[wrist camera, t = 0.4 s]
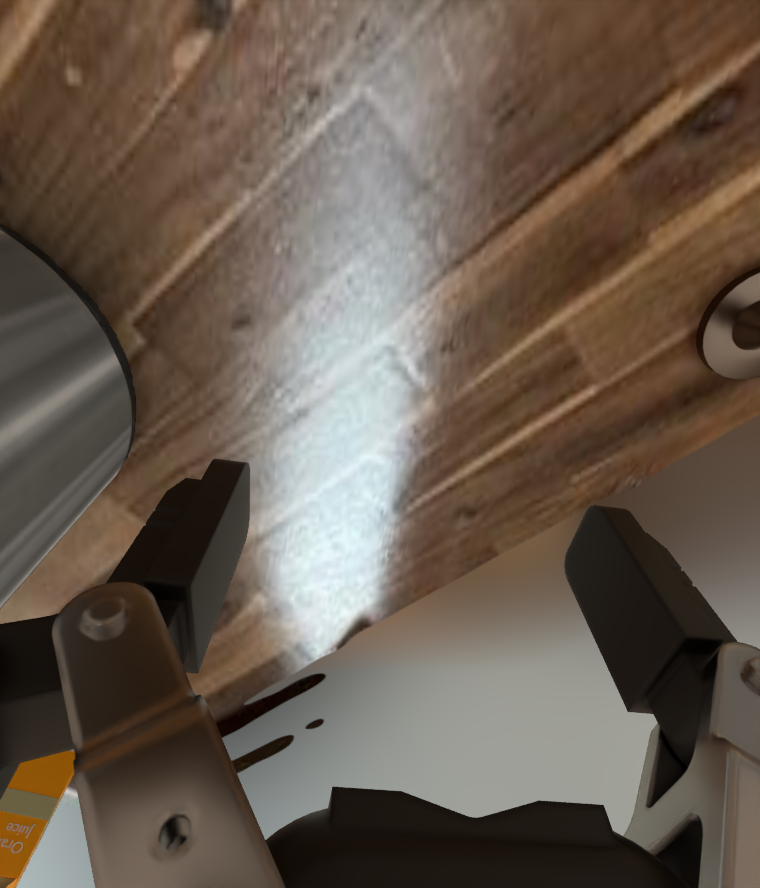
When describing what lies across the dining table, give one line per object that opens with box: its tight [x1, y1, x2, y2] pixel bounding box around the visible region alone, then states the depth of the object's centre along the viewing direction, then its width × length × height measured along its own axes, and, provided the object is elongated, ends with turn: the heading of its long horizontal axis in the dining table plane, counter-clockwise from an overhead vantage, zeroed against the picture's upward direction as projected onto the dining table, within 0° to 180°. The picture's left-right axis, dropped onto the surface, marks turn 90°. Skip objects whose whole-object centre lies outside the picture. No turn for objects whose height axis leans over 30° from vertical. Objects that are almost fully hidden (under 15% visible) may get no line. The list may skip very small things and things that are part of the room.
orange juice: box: [0, 751, 75, 888], centre depth 63 cm, size 8×9×20 cm
